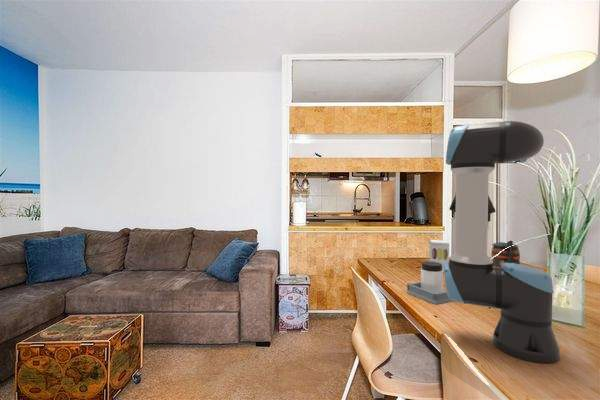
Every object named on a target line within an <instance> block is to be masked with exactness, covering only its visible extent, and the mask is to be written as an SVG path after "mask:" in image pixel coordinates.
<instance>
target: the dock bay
mask: <svg viewBox="0 0 600 400" xmlns="http://www.w3.org/2000/svg"><path fill="white" fill-rule="evenodd" d="M406 285H407V286H406V287H407V288H406V289H407V290H406V291H407V294H408V295H411V296H413V297H416V298H418V299H421V300H423V301H426V302H429V303H430V304H433V305H440V304H444V303H445V304H446V303H449V302H453V301H452V300H451V299H450V298H449V297H448V295H447V291H446V290H445V289H443V292H440V293H433V292H430V291H427V290H425V289H422V288H421V281H416V282H412V283H411V282H410V283H407V284H406Z"/></svg>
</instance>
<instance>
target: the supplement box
mask: <svg viewBox="0 0 600 400" xmlns="http://www.w3.org/2000/svg"><path fill="white" fill-rule="evenodd" d="M428 254H429V255H428V261H430V262H438V263H441V264H442V271H443V274H444V263H446V262H449V257H450V242H449V241H447V240H443V239H442V240H440V239H429V253H428Z"/></svg>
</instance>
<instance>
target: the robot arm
mask: <svg viewBox="0 0 600 400" xmlns="http://www.w3.org/2000/svg"><path fill="white" fill-rule="evenodd" d="M544 141H545V140H544V136H543V133H542V132H541V131H540V130H539V129H538V128H537V127H535V126H534V125H531V124H529V123H526V122H523V121H517V120H516V121H515V120H506V121H497V122H483V123H467V124H464V125H456V126H454V127H453V128H452V129H451V130H450V133H449V137H448V139H447V145H446V154H445V164H446V165H449V166H450V171H451V172H452V173H453V174H454V175H455V194H454V197H453V200H452V202H451V204H450V207H449V208H448V209H449V211H452V212H453V213H452V217H453V220H454V222H453V226H454V253H452V254H451V255H449V262H446V263H444V273H443V278H444V283H445V291H447V295H448V297H449V298H450V299H451V300H452V301H451V302H456V303H461V304H463V305H473V306H480V307H487V308H492V309H500V317H499V320H498V322H497V323H496V326H495V329H494V331H493V335H492V342H493V343H492V344H493V345H494V346H495V347H496V348H497V349H499V350H500V351H502V352H504V353H505V354H507V355H510V356H512V357H515V358H518V359H521V360H523V361H528V362H533V363H538V364H539V363H541V364H550V363H551V364H552V363H555V362H557V361H559V360H560V350H561V349H560V347H559V344H558V341H557V338H556V336H555V333H554V330H553V325H552V322H553V293H554V291H555V290H554V286H553V278H552V277H551V275H550V274H549V273H547V272H545V270H542V269H539V268H537V267H533V266H529V265H525V264H524V265H523V264H515V263H503V264H502V265H501V268H495V267H493V261H492V260H491V257H490V256H488V230H489V229H490V228H489V227H490V225H489V222H491V215H492V214H493V213H496V209H495V206H494V205H493V203H492V200H491V198H490V196H489V195H490V194H489V178H490V177H489V175H490V174H491V173H492V172H493V171H494V170H495V168H496V164H521V163H525V162H527V160H528V159H530V158H533V157H535V156H536V155H537V154H539V152H540V151H541V150H542V149H543V147H544ZM513 161H514V162H513ZM517 162H519V163H517Z"/></svg>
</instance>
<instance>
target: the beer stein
mask: <svg viewBox="0 0 600 400" xmlns="http://www.w3.org/2000/svg"><path fill="white" fill-rule="evenodd" d="M491 245H492V249H491V254H490V255H491V258H492V257H493V256H495V255H496V254H498V253H499V252H500V251H502V250H503V249H505V248H507V247H509V246H511V247H509V248H507V249H505V250H504V251H502V252H501V253H500V254H499V255H498V256H496V257H494V258H493V259H491V258H490V259H491V260H492V261H493V267H495V268H501V265H502V264H503V263H515V264H520V263H521V262H520V261H521V260H520V259H521V255H520V250H519V246H518V245H517V244H514V241H513V240H508V241H507V242H504V241H503V242H502V241H500V242H494V243H492V244H491ZM512 245H514V246H512ZM520 265H521V264H520Z"/></svg>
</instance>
